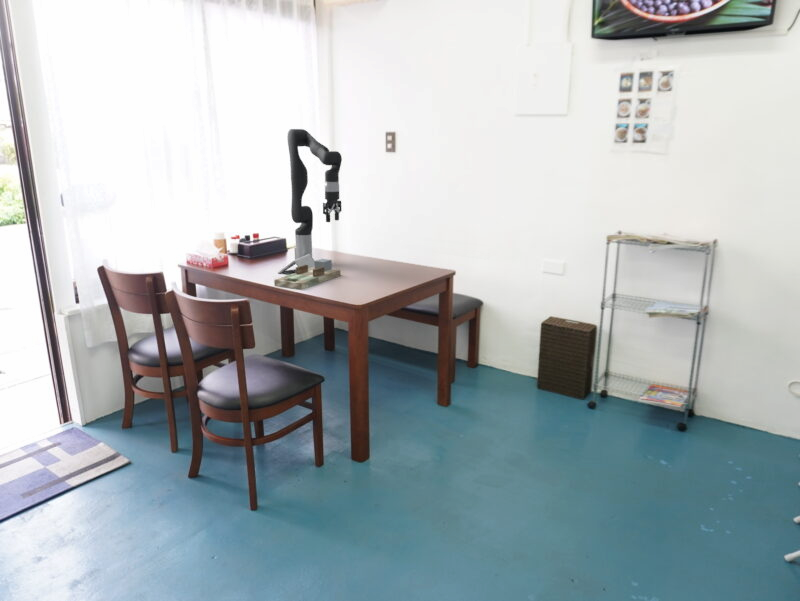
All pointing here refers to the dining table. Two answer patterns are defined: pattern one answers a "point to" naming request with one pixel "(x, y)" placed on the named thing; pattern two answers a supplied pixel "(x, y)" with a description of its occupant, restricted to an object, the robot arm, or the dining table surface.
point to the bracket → (301, 262)
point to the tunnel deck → (306, 277)
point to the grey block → (324, 264)
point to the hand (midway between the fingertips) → (332, 221)
